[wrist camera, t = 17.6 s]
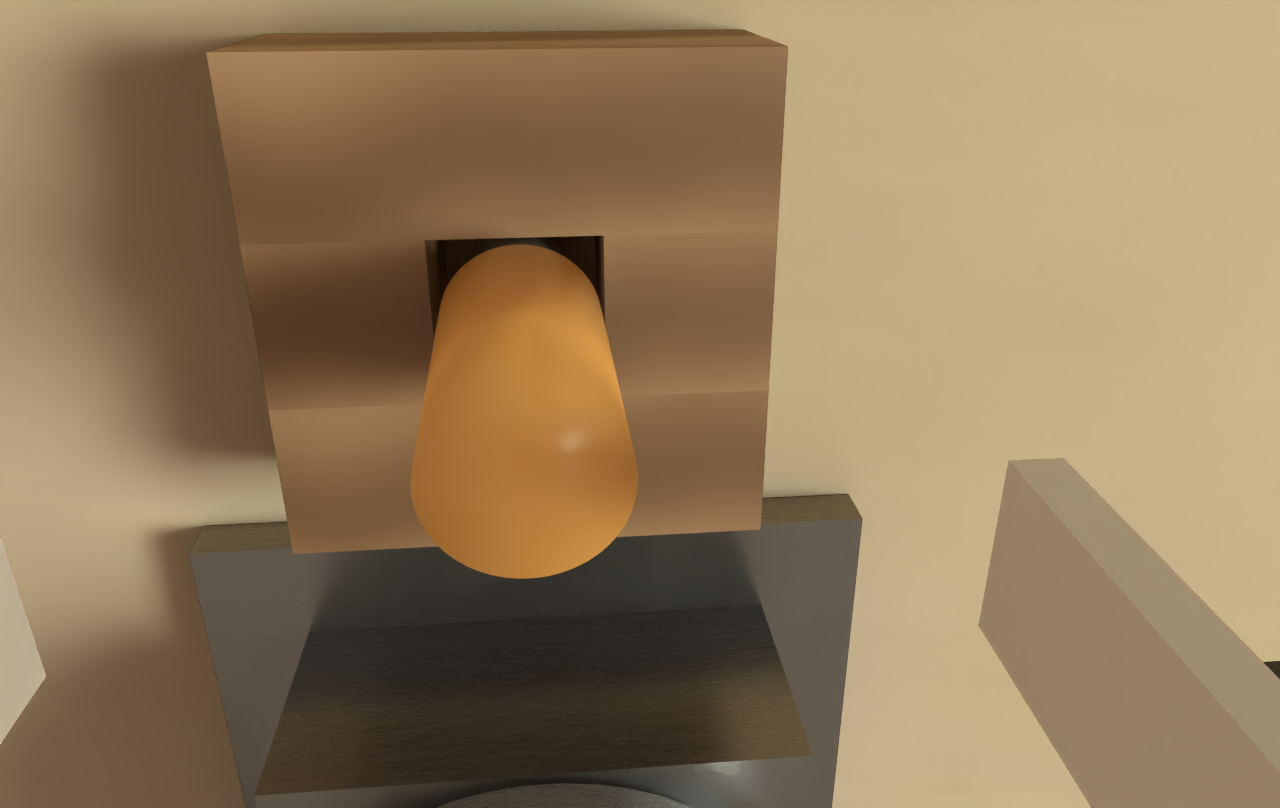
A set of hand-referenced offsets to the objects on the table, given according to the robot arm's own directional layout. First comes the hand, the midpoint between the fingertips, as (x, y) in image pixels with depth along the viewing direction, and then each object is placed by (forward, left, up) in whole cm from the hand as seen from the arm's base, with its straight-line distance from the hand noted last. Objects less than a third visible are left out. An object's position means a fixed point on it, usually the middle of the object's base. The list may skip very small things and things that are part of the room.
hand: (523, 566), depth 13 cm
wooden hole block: (0, 0, -16) cm, 16 cm away
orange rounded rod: (0, 0, -15) cm, 15 cm away
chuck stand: (+18, 0, -16) cm, 24 cm away
